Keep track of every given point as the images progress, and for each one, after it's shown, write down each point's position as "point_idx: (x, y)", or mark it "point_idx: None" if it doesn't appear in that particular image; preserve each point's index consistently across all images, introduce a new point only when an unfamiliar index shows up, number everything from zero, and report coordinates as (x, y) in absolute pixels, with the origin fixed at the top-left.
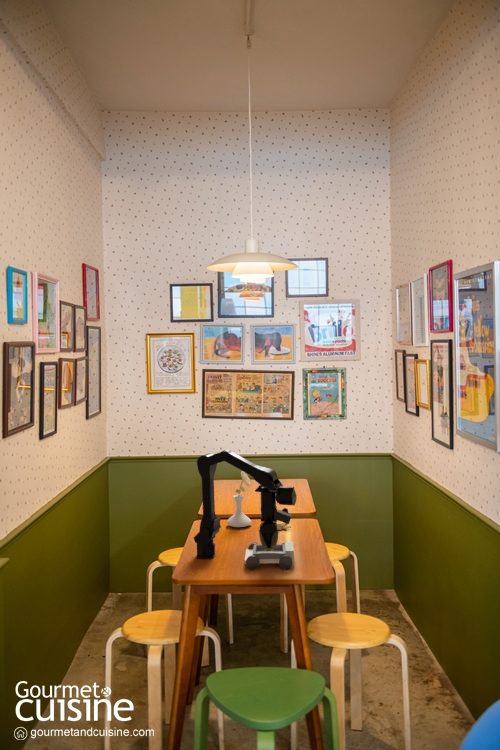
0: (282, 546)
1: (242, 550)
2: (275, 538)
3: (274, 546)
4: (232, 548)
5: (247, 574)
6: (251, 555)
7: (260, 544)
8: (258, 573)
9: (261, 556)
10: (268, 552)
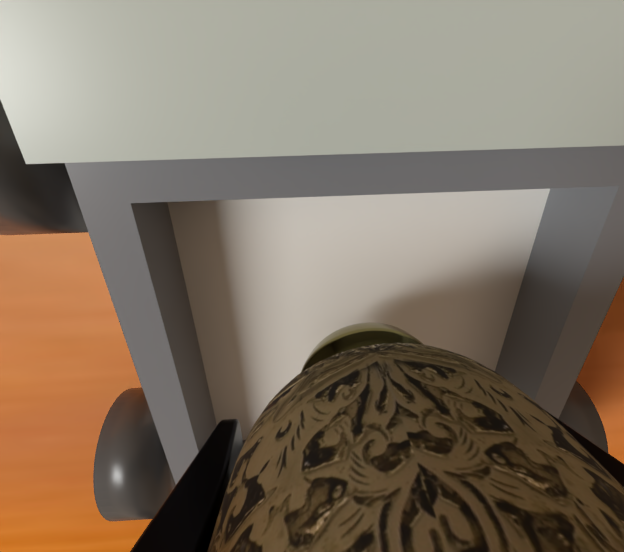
0: (141, 197)
1: (47, 475)
2: (622, 487)
3: (171, 315)
4: (23, 522)
5: (606, 401)
6: None
7: (170, 468)
8: (617, 343)
9: None
10: (285, 343)
